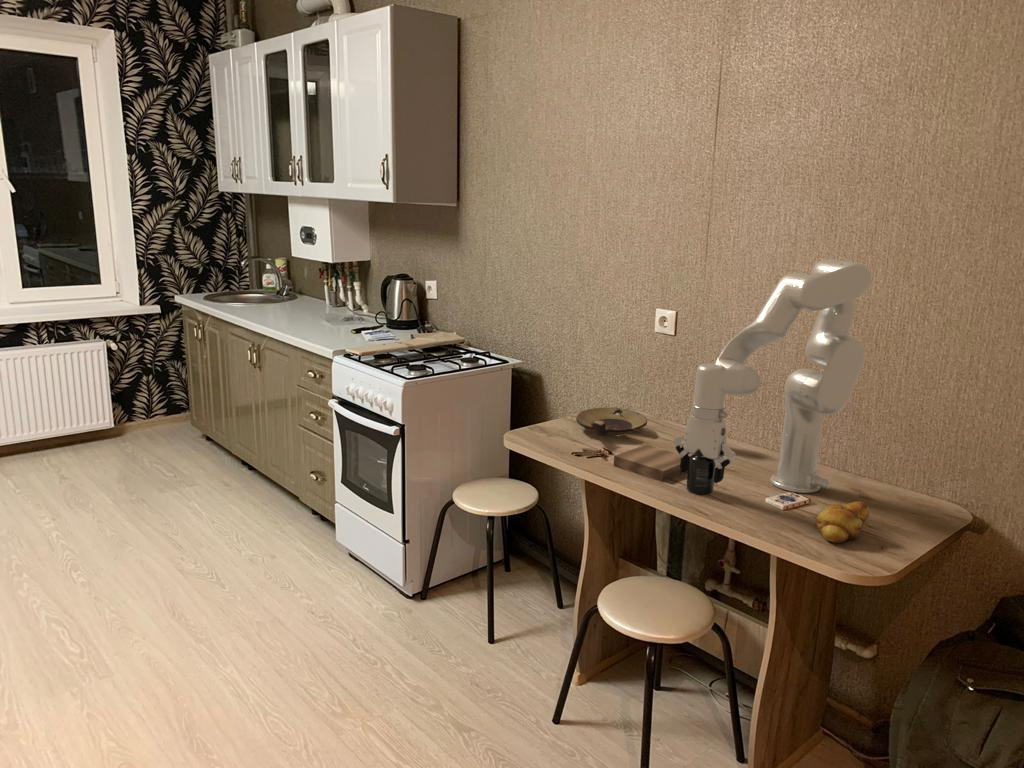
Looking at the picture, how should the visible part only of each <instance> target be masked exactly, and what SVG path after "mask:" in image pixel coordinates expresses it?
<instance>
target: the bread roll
mask: <svg viewBox="0 0 1024 768" xmlns="http://www.w3.org/2000/svg"><path fill="white" fill-rule="evenodd" d="M869 514H870V508H869V506H868V505H867V504H866V503H865V502H863V501H853V502H852V501H851V502H848V503H846V504H844V505H842V504H840V503H835V504H833V503H832V504H827V505H826V506H824V507H823V508H822V509H821V510H820V512H819V513H818V515H817V516H816V522H815V524H816V528H817V530H818V531H819V533H821V535H822V536H823V538H824V539H825V540H826V541H828V542H831V543H837V544H840V543H844V542H846V541H847V540H853V539H856V538H857V537H858V536H859V535H860V533H861V531H862V529H863V527H864V524H865V523H866V521H867V520H868V517H869Z"/></svg>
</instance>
